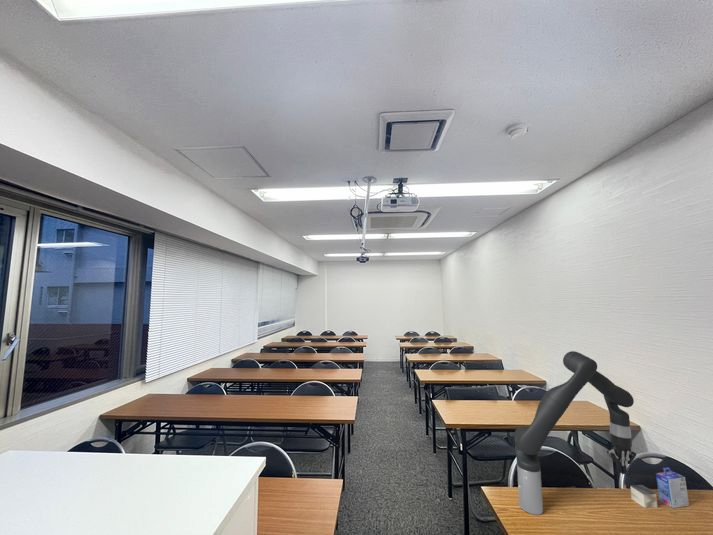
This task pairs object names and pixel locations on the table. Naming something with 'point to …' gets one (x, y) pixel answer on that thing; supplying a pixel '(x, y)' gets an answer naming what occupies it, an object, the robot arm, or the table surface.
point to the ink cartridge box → (672, 489)
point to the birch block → (643, 496)
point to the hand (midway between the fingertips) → (622, 473)
